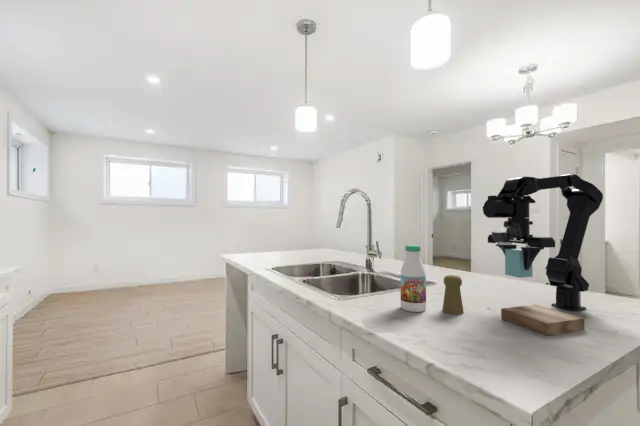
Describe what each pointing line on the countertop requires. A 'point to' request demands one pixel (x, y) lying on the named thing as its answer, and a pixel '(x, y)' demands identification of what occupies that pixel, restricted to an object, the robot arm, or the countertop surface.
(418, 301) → the milk bottle
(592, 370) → the countertop surface
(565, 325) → the wooden board
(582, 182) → the robot arm
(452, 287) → the cork
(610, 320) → the countertop surface
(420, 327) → the countertop surface
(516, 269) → the teal block
